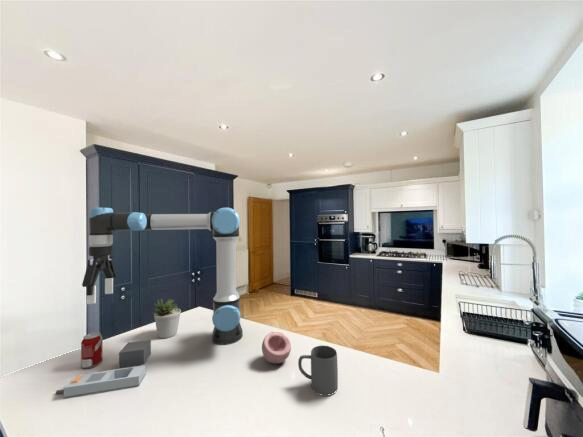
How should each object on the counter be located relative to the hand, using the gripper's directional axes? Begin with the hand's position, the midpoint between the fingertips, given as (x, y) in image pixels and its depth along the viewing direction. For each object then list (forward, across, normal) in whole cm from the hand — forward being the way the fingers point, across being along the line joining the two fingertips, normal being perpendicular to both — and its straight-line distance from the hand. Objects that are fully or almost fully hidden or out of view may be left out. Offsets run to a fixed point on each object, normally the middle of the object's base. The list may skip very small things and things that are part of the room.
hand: (100, 298), depth 95 cm
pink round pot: (+28, +15, +69) cm, 76 cm away
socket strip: (+28, +13, +6) cm, 31 cm away
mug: (+28, +34, +80) cm, 91 cm away
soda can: (+28, -4, -5) cm, 29 cm away
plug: (+28, +2, +13) cm, 31 cm away
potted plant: (+28, -25, +18) cm, 42 cm away
